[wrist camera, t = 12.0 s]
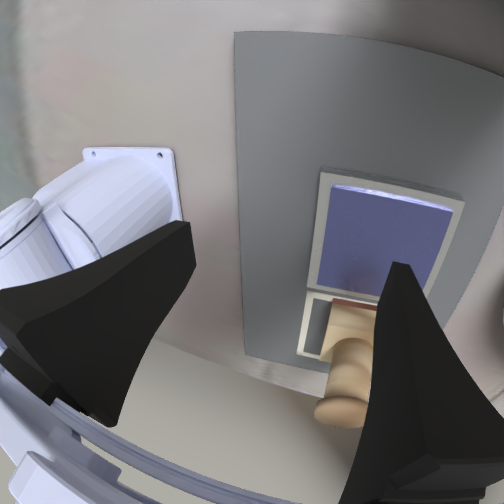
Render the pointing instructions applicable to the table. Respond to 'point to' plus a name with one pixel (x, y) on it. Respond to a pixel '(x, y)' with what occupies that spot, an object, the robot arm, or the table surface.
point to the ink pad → (378, 231)
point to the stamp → (347, 364)
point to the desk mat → (351, 165)
